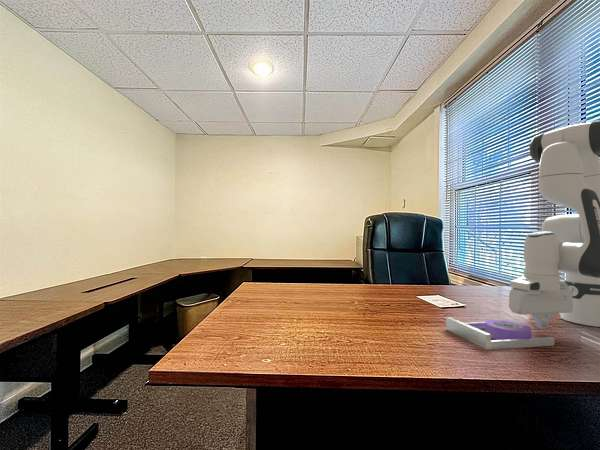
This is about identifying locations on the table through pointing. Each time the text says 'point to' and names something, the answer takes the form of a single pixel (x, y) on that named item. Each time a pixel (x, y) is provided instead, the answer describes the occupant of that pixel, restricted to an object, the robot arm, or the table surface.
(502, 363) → the table surface
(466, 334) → the guide channel
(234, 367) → the table surface
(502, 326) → the masking tape
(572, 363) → the table surface
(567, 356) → the table surface
